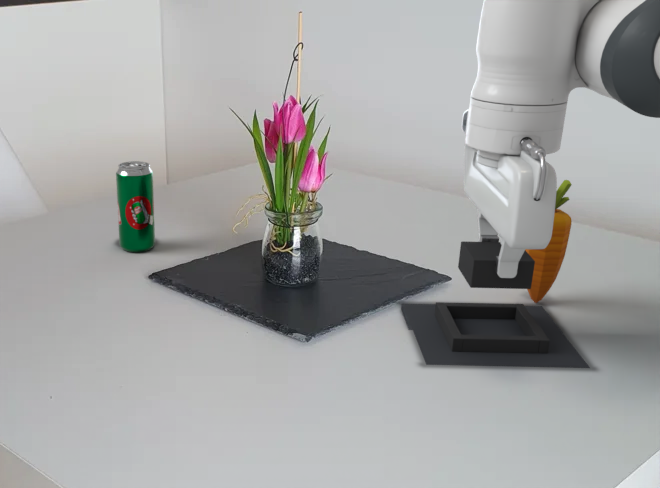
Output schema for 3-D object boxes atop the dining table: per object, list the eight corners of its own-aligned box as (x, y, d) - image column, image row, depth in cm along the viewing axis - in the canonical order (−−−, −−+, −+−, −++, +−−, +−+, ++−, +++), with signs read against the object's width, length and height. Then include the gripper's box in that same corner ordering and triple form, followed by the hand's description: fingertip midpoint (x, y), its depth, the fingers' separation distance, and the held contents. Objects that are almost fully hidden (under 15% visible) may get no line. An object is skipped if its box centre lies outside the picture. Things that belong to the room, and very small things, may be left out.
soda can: (129, 240, 122) (125, 159, 118) (160, 244, 120) (158, 162, 116) (113, 251, 118) (109, 167, 113) (146, 255, 116) (143, 170, 112)
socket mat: (540, 312, 97) (543, 293, 96) (590, 376, 82) (594, 354, 81) (400, 309, 98) (402, 291, 97) (424, 372, 83) (426, 351, 82)
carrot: (504, 299, 100) (521, 176, 95) (534, 292, 102) (552, 171, 97) (536, 313, 96) (556, 186, 90) (567, 305, 98) (588, 180, 93)
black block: (514, 268, 90) (518, 242, 88) (531, 289, 84) (535, 261, 83) (457, 267, 90) (461, 241, 89) (470, 288, 84) (473, 259, 83)
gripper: (584, 152, 71) (559, 302, 77) (518, 111, 90) (501, 233, 96) (509, 151, 72) (489, 300, 77) (459, 111, 91) (445, 232, 96)
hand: (495, 263), depth 86 cm, fingers closed on black block, 6 cm apart
